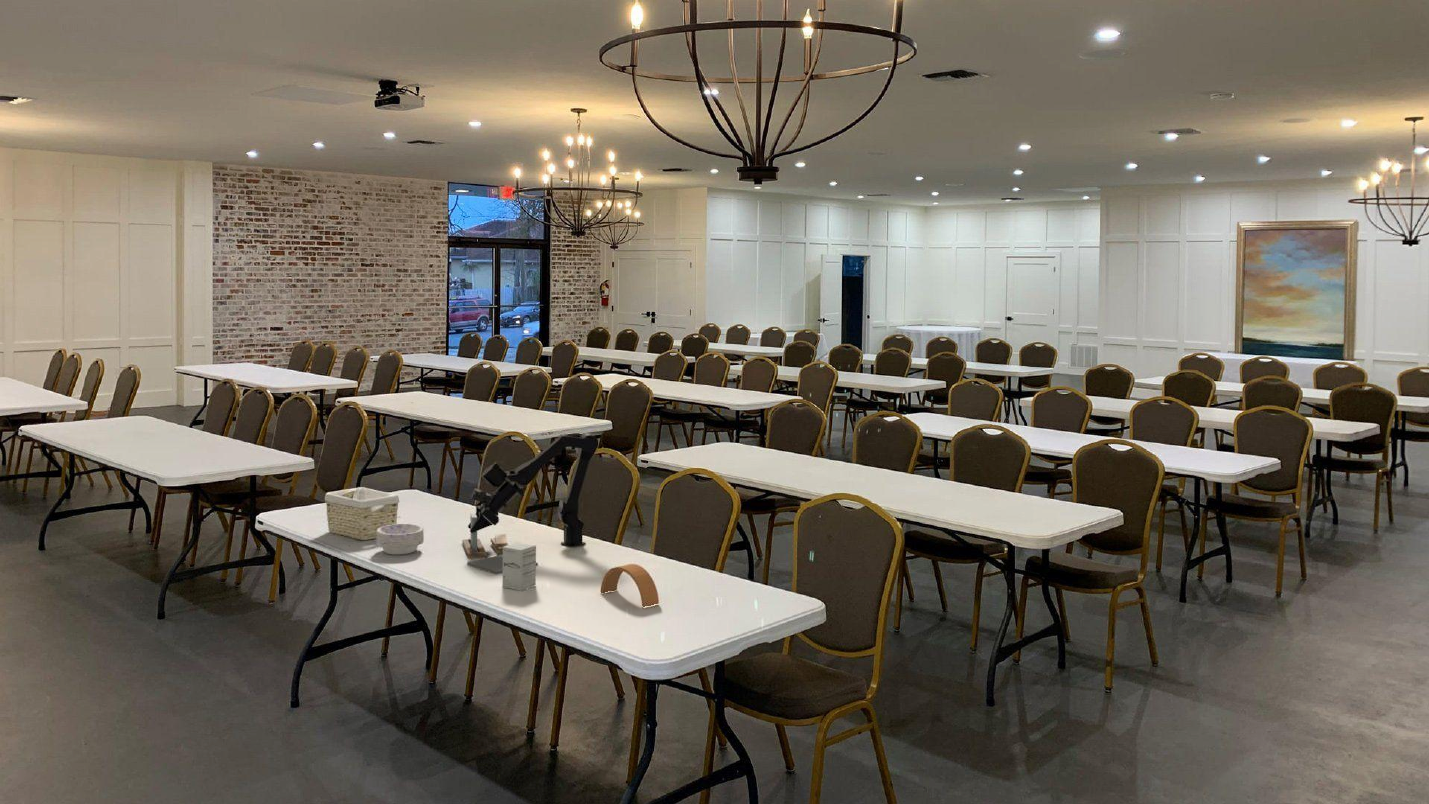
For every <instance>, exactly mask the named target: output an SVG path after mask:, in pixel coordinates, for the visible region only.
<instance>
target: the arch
mask: <svg viewBox="0 0 1429 804" xmlns="http://www.w3.org/2000/svg"><path fill="white" fill-rule="evenodd" d="M623 573H626V574H627V575H628V576H630V578H631V579H632V580H633V581H634V584H635V585H636V587H637V589H638V592H639V595H640V600H641V607H642V606H643V607H645V606H651V605H654V604H658V603H659V604H660V602H659V601H660V600H659V593H658V589H657V586H656V584H655V581H654V580H653V577H652V576H651V575H650V573H649V572H648V571H647V570H646V569H645V568H644V567H642V565H641V566H640V564H635V563H629V564H625V565H620V566H616V567H613V568H610V569H608V570H607V572H606V573H605V575H604V576H603V578H602V581H601V586H600V592H601V593H605V592H608V591H615V590H617V591H618V584H619V580H620V578H621V575H622V574H623ZM615 592H616V591H615Z"/></svg>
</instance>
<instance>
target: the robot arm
mask: <svg viewBox="0 0 1429 804" xmlns="http://www.w3.org/2000/svg"><path fill="white" fill-rule="evenodd" d="M569 447H570V448H576V449H577V458H576V463H575V466H574V470H573V473H572V477H571V480H570V483H569V487H568V491H567V494H566V496H565V498H564V499H559V503H558V504H559V505H558V506H557V508H556V511H557V515H558V518H559V519H560V520H561V523H563V525H564V526H563V541H562V542H561V541H560V545H564V546H566V547H571V548H574V547H579V546H584V545H586V544H587V542H585V541H583V532H584V531H583V528H584V524H585V523H584V522H583V521H582V520H581V518H580V517H579V499H580V496H581V492H582V488H583V485H584V482H585V478H586V475H587V471H588V467H589V464H590V461H591V460H592V458H593V456H594V455H595V453H596V452H597V449H598V447H599V440H598V437H596V436H595V435H593V434H592V433H590V432H583V433H582V434H564V433H562V434H560V435H558V437H557V438H556V439H555V440H553V441H552V442H551V443H550V444H549V445H548V446H546V448H544V449H543V450H542V451H541V452H540V453H538V454H537V455H536V456H534V457H533V458H532V459H530V460H529V461H526V462H524V463H523V464H521V465H519V466H517V467H516V468H515V469H512V470H507V471H505V470H504V469H503V468H502V467H501V466H500V465H499V464H498V463H497V462H494V463H493V464H490V465H489V466H488V467H486V468H485V470H484V471H483V472H482V473H481V475H480V477H481V478H482V479H483V480H485V482H487V484H488V485H490V486H491V487H492V488H495V487H496V488H498V489H497V490H495V492H494V491H491V492H490V493H488V492H486V491H484V490H483V489H478V488H475V487H474V489H473V491H472V492H471V495H470V498H471V500H474V501H476V502H475V504H476V505H475V514H476V516H477V521H476V522H475V524H474V525H473V527H472V528H471V521H470V522H469V524H468V526H467V528H468V529H469V533H470V534H471V533H473V532H476V531H477V532H478V531H480V530H483V529H485V528H488V527H490V526H493V525H494V526H496V525H497V524H498V523H499V522H500V517H499V515H500V514H499V513H500V512H501V511H502V510H504V509H503V508H506V507H508V503H509V502H510V501H511V500H513V498H515V496H517V495H518V494H519V495H520V496H521V497H524V496H525V494H524V490H525V488H524V486H528V485H529V484H531V482H532V481H533V480H534V479H535V477H537V475H538V473H539V472H540V471H541V469H542V468H543V467H545V466H546V464H548V463H549V462H551V460H553V459H554V458H555V457H556V456H557V455H559V454H560V453H561V452H562V451H564V449H566V448H569ZM508 479H509V480H508ZM510 481H511V482H510ZM519 485H520V486H519Z"/></svg>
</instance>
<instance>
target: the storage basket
mask: <svg viewBox="0 0 1429 804" xmlns="http://www.w3.org/2000/svg"><path fill="white" fill-rule="evenodd" d="M324 501H325V503H326V505H325V506H326V516H327V517H326V519H327V520H326V521H327V527H328V529H327V530H328V532H329V533H332V534H335V533H336V535H339V534H340V536H342V535H343V536H344V537H348V538H349V539H350V538H351V539H355V540H360V541H367V540H374V539H377V536H376V531H377V529H378V528H380V527H383V526H387V525H393V524H398V521H397V518H398V509H399V503H400V498H399V495H398V494H395V493H391V492H385V491H381V490H377V489H376V490H375V489H373V488H368V487H365V486H361V487H360V486H358V487H354V488H347V489H341V490H335V491H328V492H326V493H325V496H324Z"/></svg>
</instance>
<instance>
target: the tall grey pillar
mask: <svg viewBox="0 0 1429 804" xmlns="http://www.w3.org/2000/svg"><path fill="white" fill-rule="evenodd" d="M476 521H477V516H476V513H470V522H471V528H472V527H473V525H474V524H475V522H476ZM470 539H471V544H470V546H471V548H472V550H473V553H475V552H478V550H477V539H478V531H476V532H473V533H471V532H470Z"/></svg>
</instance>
